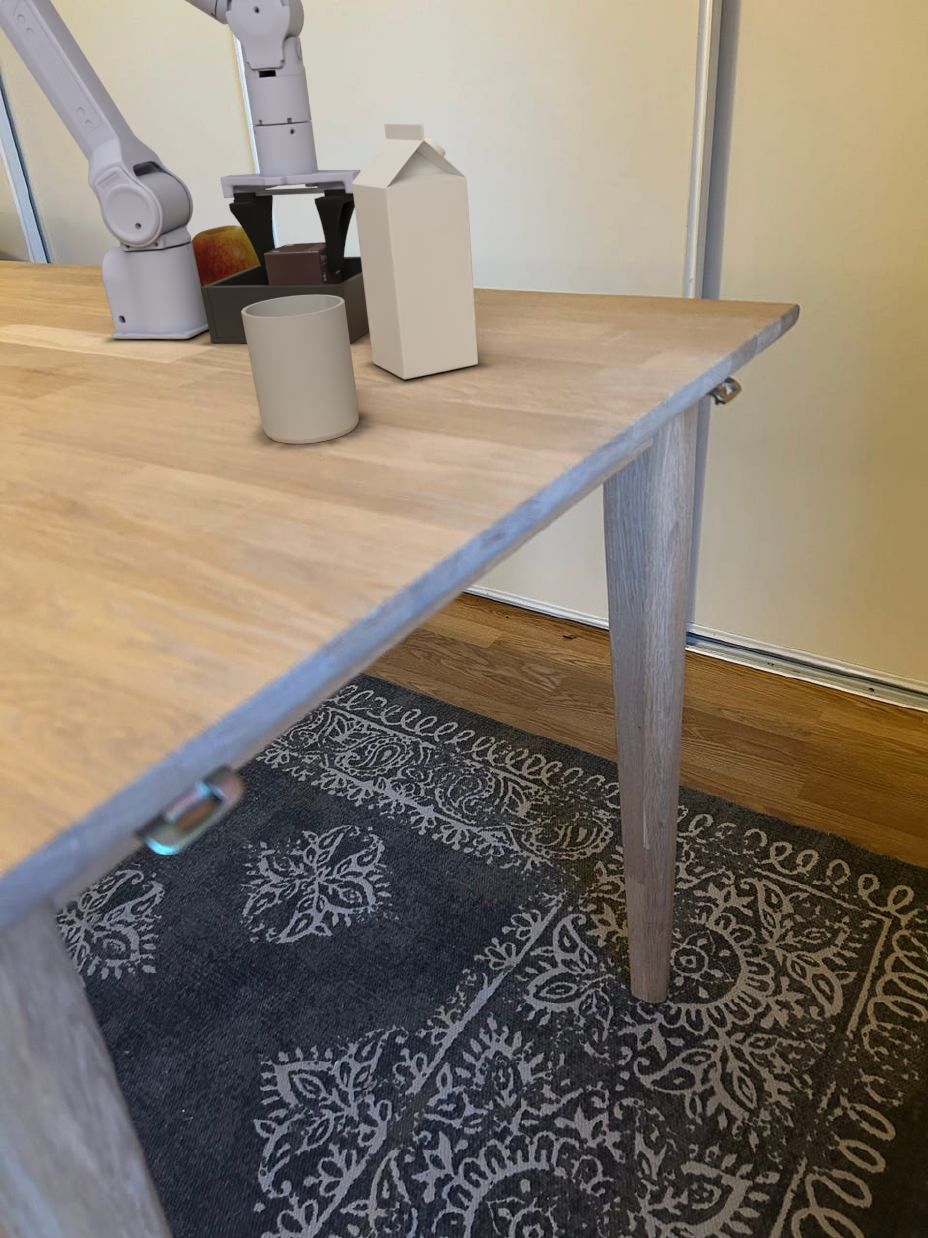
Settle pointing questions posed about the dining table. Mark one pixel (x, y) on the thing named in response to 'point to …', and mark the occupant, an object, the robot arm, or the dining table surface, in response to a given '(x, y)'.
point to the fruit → (222, 253)
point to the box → (300, 265)
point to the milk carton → (416, 256)
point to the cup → (302, 367)
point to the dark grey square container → (254, 287)
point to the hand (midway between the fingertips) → (303, 270)
